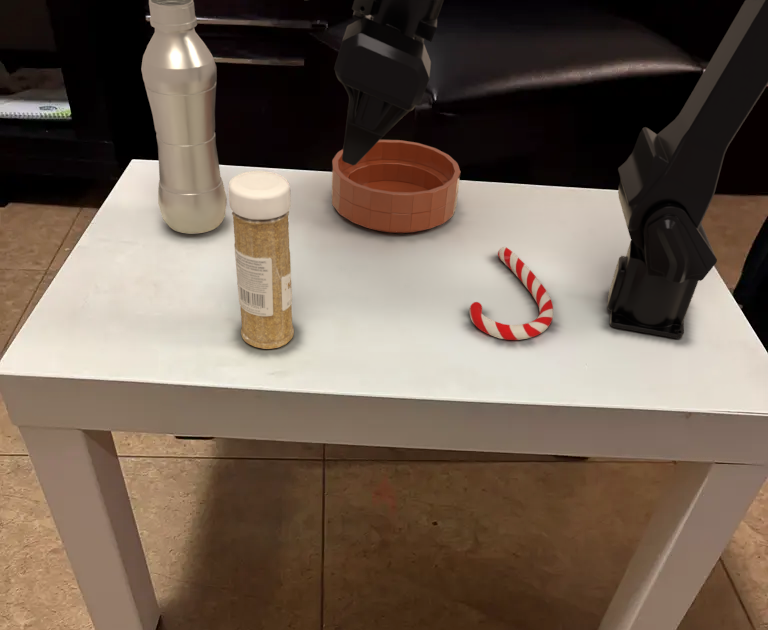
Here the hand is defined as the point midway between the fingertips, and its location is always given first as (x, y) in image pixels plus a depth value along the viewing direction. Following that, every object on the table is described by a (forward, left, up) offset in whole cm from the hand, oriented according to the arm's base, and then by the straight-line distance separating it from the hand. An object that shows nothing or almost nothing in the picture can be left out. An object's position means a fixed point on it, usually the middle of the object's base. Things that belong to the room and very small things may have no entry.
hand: (354, 138), depth 67 cm
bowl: (0, -17, -14) cm, 22 cm away
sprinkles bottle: (+5, +10, -14) cm, 18 cm away
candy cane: (-14, -3, -14) cm, 20 cm away
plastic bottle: (+18, -6, -14) cm, 23 cm away
